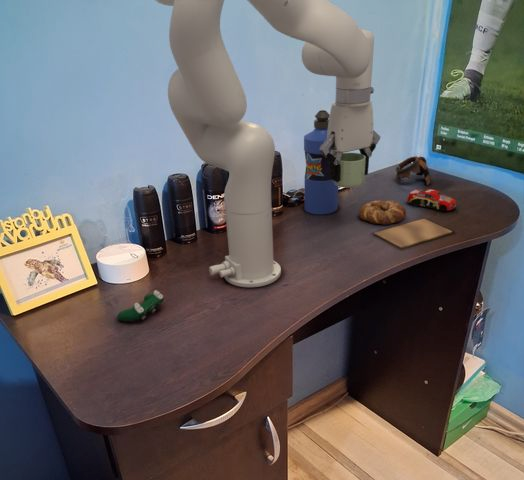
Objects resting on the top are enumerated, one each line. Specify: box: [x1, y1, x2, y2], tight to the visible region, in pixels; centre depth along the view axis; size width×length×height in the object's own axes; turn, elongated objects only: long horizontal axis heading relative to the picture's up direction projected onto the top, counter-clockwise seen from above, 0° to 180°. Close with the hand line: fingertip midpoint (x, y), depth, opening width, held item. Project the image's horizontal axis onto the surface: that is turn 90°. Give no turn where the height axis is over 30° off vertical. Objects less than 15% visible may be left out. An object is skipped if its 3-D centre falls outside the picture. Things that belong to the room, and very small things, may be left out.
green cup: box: [333, 152, 366, 189], centre depth 127 cm, size 7×7×6 cm
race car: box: [407, 188, 458, 213], centre depth 146 cm, size 13×5×4 cm, turn 50°
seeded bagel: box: [358, 199, 407, 226], centre depth 141 cm, size 12×11×4 cm
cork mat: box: [373, 218, 453, 249], centre depth 133 cm, size 16×10×1 cm, turn 119°
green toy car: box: [117, 289, 165, 322], centre depth 107 cm, size 9×4×6 cm
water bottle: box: [303, 109, 339, 215], centre depth 142 cm, size 9×9×25 cm
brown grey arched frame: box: [395, 155, 431, 186], centre depth 162 cm, size 12×10×8 cm
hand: (348, 176), depth 128 cm, fingers closed on green cup, 7 cm apart
